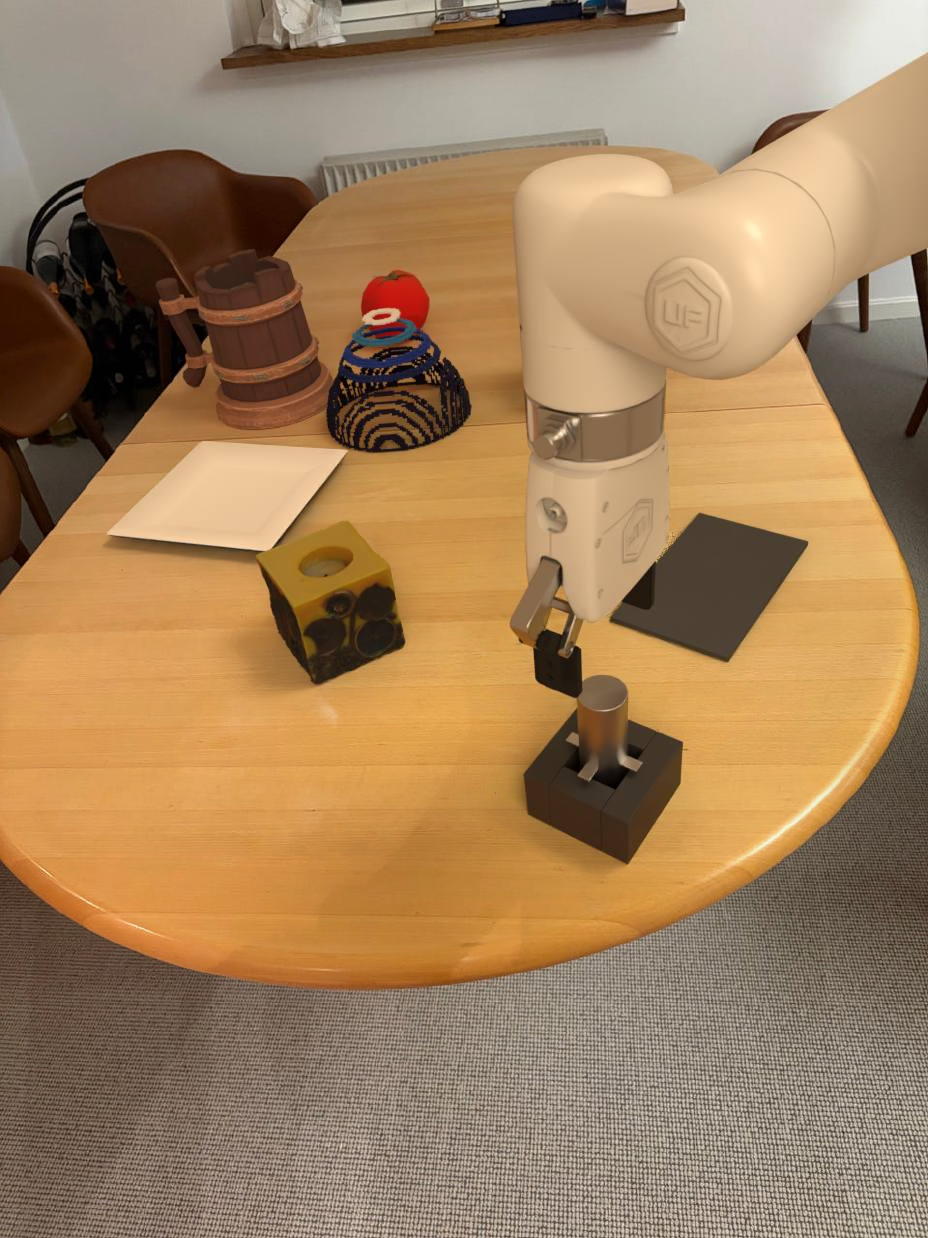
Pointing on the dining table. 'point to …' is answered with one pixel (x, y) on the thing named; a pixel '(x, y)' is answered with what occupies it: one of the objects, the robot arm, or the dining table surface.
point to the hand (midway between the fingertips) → (596, 643)
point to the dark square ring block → (604, 790)
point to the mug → (251, 341)
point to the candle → (332, 601)
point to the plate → (230, 495)
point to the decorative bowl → (394, 385)
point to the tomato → (396, 300)
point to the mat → (714, 585)
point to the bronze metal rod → (603, 731)
